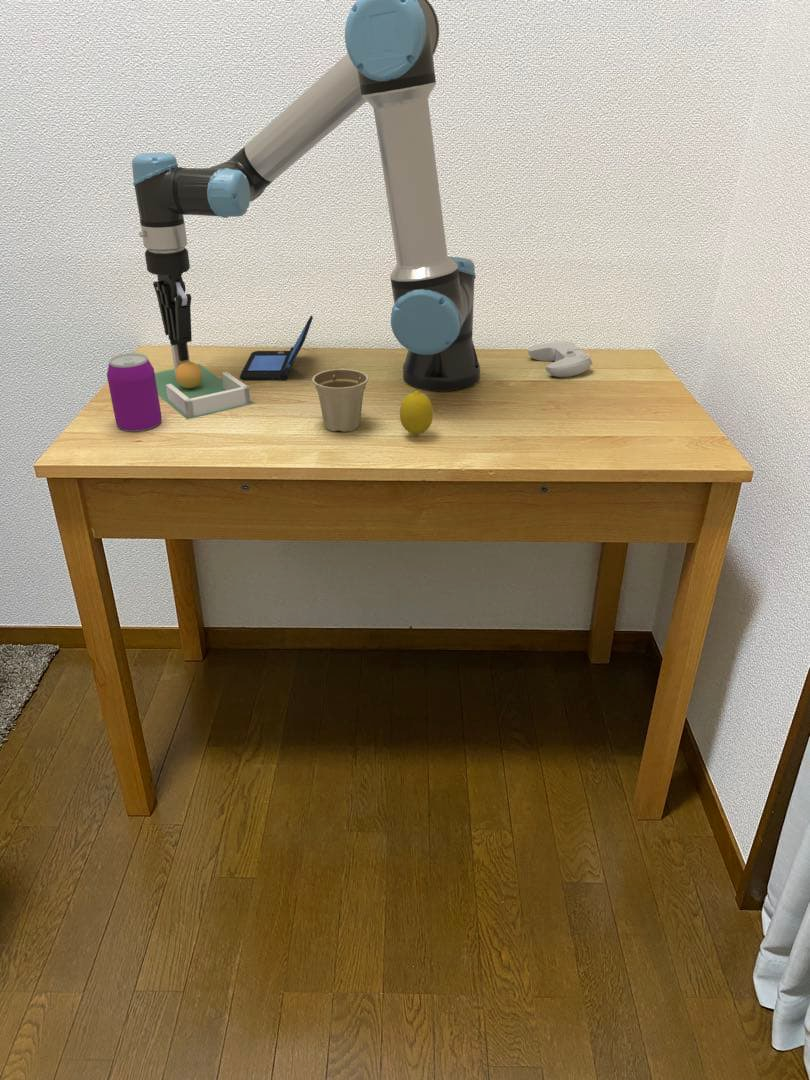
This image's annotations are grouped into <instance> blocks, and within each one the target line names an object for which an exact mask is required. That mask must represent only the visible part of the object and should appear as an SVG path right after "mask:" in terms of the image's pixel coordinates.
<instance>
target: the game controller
mask: <svg viewBox="0 0 810 1080" xmlns="http://www.w3.org/2000/svg"><path fill="white" fill-rule="evenodd" d="M580 348H581V347H579V346H576V345H575V343H574V342H573V341H569V340H568V341H552V342H544V343H539V344H536V345H532V346H531V347H529V348H528V350H527V351H528V352H527V353H528V355H529V357H530V358H532V359H534V360H536V361H541V362H543V361H544V362H551V363H549V364H547V365H545V371H546V373H548V374H549V375H551V376H552V377H556V378H569V377H575V376H578V375H581V374H583V373H584V372H586V371H587V370H589V369H590V368H591V366H592V365H593V362H592V359H591V356H590V354H589V353H588V352H587V353H586V352H585V351H583V350H582V349H580Z"/></svg>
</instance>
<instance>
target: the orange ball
mask: <svg viewBox="0 0 810 1080" xmlns="http://www.w3.org/2000/svg"><path fill="white" fill-rule="evenodd" d="M197 364H198V363H195V362H192V361H190V362H184V363H181V364H180V365H179V366H178V367H177V369H176V372H175V377H176V380H177V382H178V383H179V384H180V385H181V386H182V387H184V388H195V387H197V386H198V385H199V384H200V383H201V381H202V371H201V369H200V367H199V366H198V365H197Z"/></svg>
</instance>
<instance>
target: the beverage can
mask: <svg viewBox="0 0 810 1080" xmlns="http://www.w3.org/2000/svg"><path fill="white" fill-rule="evenodd" d="M155 373H156V372H155V369H154V367H153V365H152V363H151V361H150V359H149V358H148V356H147V354H144V353H138V352H137V353H136V352H129V353H121V354H117V355H115V356H112V357H111V358H109V360H108V368H107V372H106V377H107V383H108V388H109V395H110V398H111V404H112V409H113V414H114V420H115V424H116V425H117V427H118V428H119V429H121V430H123V431H125V432H126V431H127V432H144V431H148V430H152V429H154V428H156V427H158V426H159V425H160V424H161V422H162V420H163V419H162V410H161V404H160V398H159V397H160V396H159V395H158V391H157V385H156V379H155Z"/></svg>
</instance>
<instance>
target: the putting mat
mask: <svg viewBox="0 0 810 1080" xmlns="http://www.w3.org/2000/svg"><path fill="white" fill-rule="evenodd" d="M196 364H197V365H198V366H199V367H200V369H201V371H202V381H201V383H200V384H199V385H198V386H197V387H195V388H184V387H182V386H181V385H180V384H179V383H178V382H177V380H176V377H175V368H172V369H168V370H167V369H166V370H163V371H158V372H155V379H156V385H157V391H158V397H160V398H161V399H163V400H164V402H166V403H167V404H168V405H170V407H172V408H173V409H174V410H175V411H176V412H178V413H179V414H180V415H181V416H183V417H184V418H185V419H186V420H191V419H196V418H200V417H203V416H208V415H209V416H210V415H212V414H216V413H221V412H225V411H230V410H234V409H239V408H241V407H246V406H251V405H255V402H254V401H252V400H251V403H249V404H245V405H241V406H236V407H232V408H228V409H224V410H219V411H215V412H211V413H207V414H203V415H198V416H194V417H190V418H189V417H187V416H186V415H185V414H184V413H183V412H181V411H180V410H179V409H178V408H177V407H175V406H174V405H173V404H172V403H171V402H170V401H168V397H167V390H166V385H167V384H172V385H173V386H174V387H176V388H177V389H178V390H179V391H181V392H182V393H183V394H184V395H186V396H187V397H188V398H189V399H191V398H195V397H200V396H204V395H209V394H213V393H218V392H222V391H226V389H224V388H223V381H222V379H221V378H220V377H218V376H217V375H216V374H214V373H213V372H211V371H210V370H209V369H207V368H205V366H202V364H199V363H196Z"/></svg>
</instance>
